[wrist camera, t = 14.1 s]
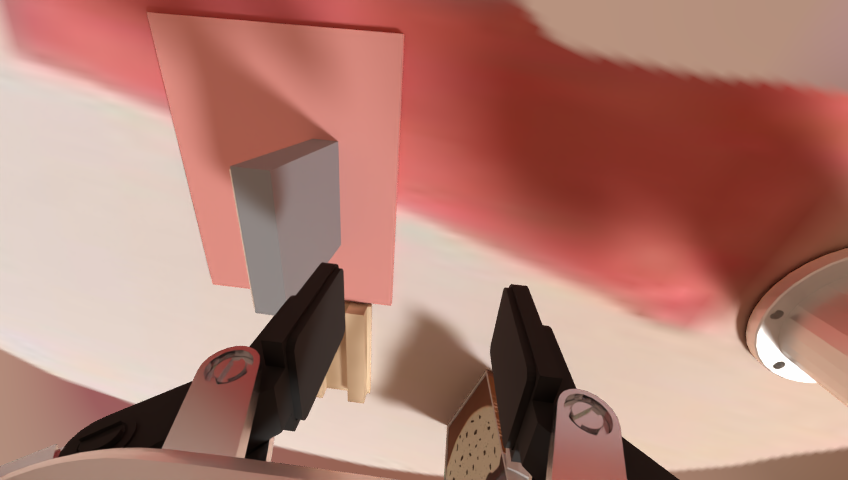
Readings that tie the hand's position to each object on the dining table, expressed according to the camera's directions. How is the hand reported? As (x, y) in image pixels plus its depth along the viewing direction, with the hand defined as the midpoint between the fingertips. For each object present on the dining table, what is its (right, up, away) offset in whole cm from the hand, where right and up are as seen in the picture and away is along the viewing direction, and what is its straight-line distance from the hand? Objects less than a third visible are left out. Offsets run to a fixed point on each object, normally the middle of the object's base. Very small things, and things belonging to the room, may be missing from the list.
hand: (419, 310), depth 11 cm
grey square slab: (-7, +8, +7) cm, 12 cm away
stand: (-8, -8, +19) cm, 22 cm away
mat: (-10, +7, +13) cm, 17 cm away
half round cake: (+7, -15, +21) cm, 27 cm away
